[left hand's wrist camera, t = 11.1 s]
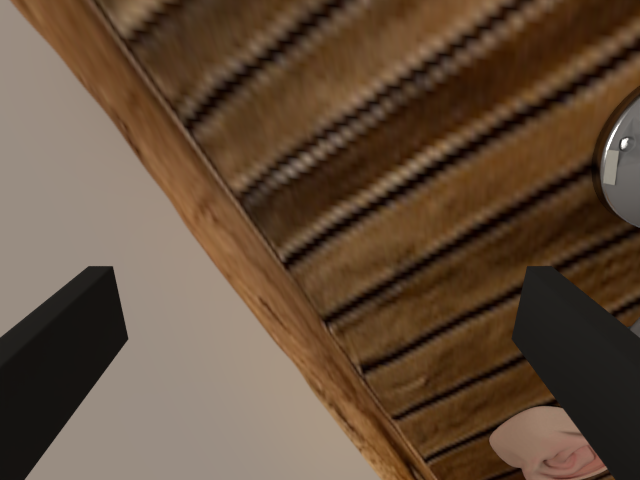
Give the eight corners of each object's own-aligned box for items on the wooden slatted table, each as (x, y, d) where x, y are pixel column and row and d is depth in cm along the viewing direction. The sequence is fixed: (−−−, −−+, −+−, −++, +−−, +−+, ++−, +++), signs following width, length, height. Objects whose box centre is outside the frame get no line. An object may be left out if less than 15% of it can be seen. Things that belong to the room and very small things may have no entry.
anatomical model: (487, 478, 49) (546, 414, 45) (475, 450, 53) (529, 389, 49) (572, 510, 52) (635, 452, 48) (555, 481, 55) (612, 425, 51)
